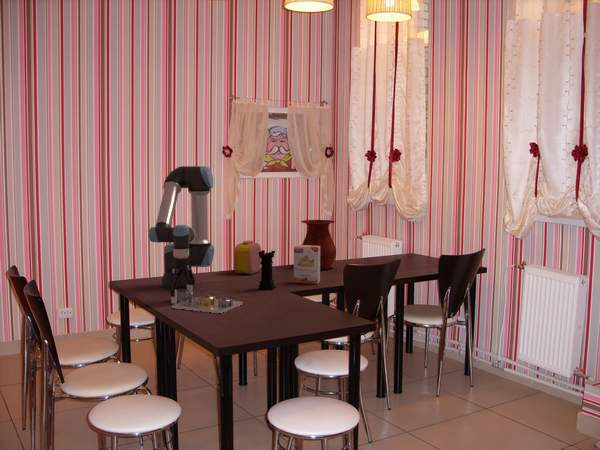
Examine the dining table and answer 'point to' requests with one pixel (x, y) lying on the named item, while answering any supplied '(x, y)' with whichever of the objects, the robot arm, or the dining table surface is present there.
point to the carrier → (207, 304)
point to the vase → (321, 240)
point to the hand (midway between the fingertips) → (182, 300)
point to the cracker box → (306, 264)
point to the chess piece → (266, 271)
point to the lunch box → (247, 257)
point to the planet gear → (182, 295)
